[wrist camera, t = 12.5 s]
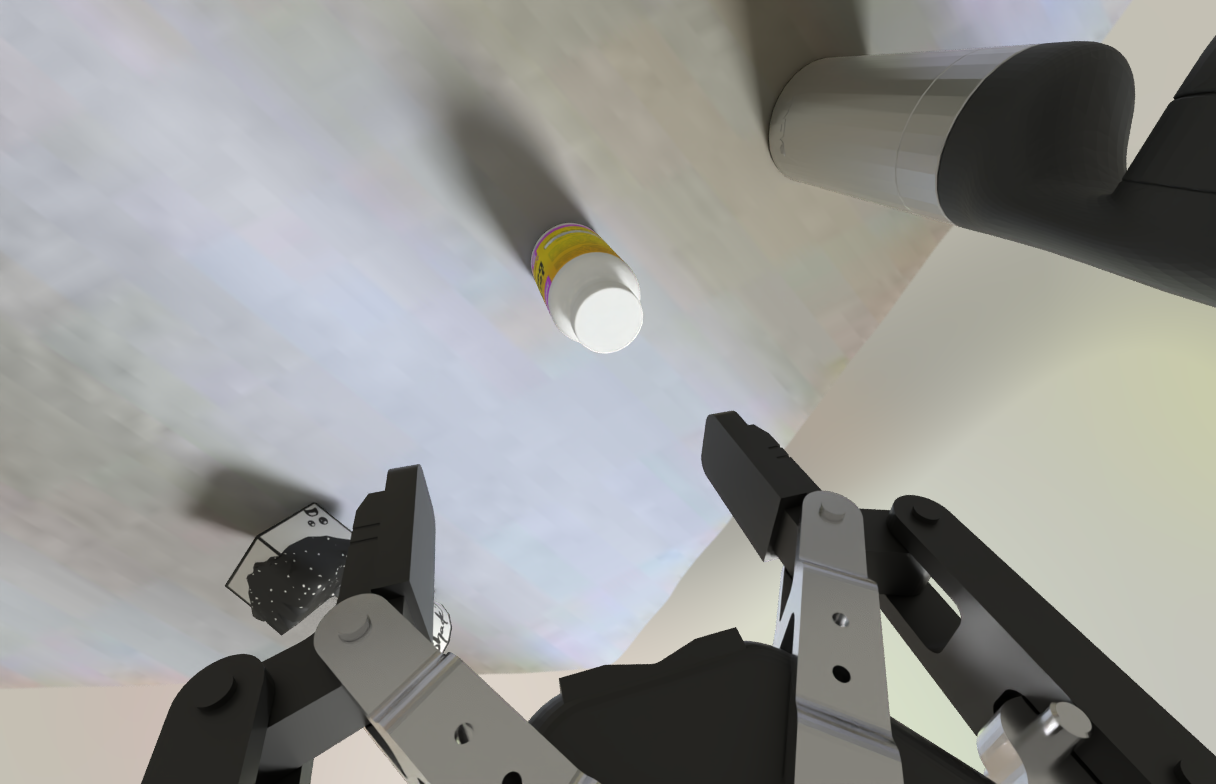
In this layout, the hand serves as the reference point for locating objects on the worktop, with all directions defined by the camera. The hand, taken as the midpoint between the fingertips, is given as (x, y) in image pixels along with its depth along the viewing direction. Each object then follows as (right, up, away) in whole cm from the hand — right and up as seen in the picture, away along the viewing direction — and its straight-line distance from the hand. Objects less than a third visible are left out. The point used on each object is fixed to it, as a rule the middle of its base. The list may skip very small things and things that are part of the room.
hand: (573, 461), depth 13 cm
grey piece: (-26, -17, +40) cm, 51 cm away
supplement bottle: (-2, +13, +28) cm, 31 cm away
